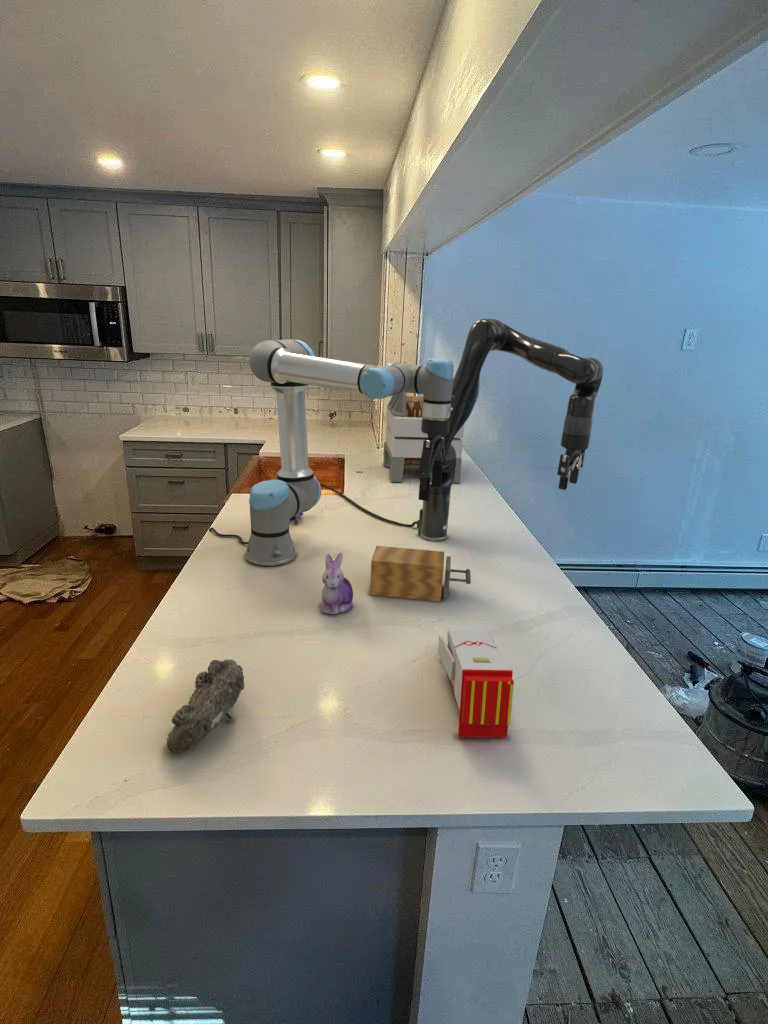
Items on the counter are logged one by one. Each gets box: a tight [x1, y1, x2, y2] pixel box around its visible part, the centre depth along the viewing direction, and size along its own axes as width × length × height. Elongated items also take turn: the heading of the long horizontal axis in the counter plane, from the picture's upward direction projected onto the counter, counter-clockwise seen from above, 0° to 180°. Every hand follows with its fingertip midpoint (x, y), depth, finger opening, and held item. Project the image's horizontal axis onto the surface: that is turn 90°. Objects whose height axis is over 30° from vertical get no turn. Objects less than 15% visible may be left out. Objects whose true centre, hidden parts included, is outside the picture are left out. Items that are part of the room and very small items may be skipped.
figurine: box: [321, 552, 354, 615], centre depth 147 cm, size 9×10×15 cm
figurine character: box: [289, 512, 304, 524], centre depth 208 cm, size 7×8×15 cm
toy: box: [437, 628, 515, 738], centre depth 117 cm, size 12×13×30 cm
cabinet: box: [369, 545, 445, 603], centre depth 159 cm, size 20×10×10 cm, turn 83°
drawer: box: [443, 555, 472, 599], centre depth 158 cm, size 24×9×8 cm, turn 83°
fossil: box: [166, 658, 245, 754], centre depth 106 cm, size 22×10×15 cm
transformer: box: [383, 393, 465, 484], centre depth 268 cm, size 34×33×41 cm
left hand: (430, 493), depth 160 cm, fingers open, 13 cm apart
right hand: (567, 486), depth 165 cm, fingers open, 8 cm apart
